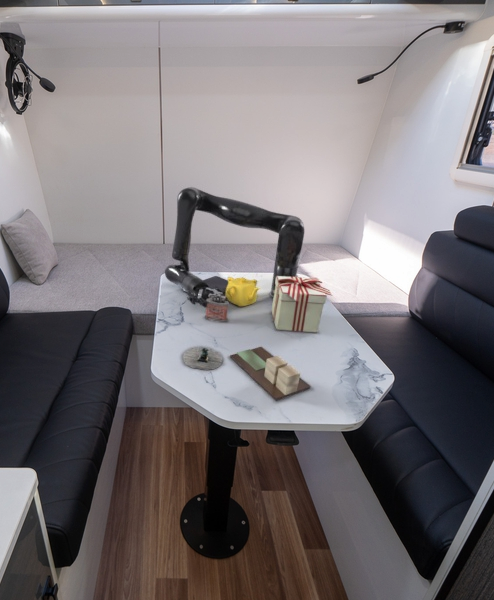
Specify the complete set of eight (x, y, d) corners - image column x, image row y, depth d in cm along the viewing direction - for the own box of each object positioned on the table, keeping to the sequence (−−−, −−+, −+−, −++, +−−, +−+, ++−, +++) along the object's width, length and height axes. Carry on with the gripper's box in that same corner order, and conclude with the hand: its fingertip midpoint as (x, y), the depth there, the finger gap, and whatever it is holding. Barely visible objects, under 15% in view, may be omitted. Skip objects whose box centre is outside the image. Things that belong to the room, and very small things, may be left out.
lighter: (227, 319, 138) (229, 294, 134) (225, 323, 135) (227, 298, 131) (206, 315, 140) (208, 291, 136) (204, 319, 138) (205, 294, 133)
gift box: (278, 336, 128) (286, 290, 120) (267, 311, 144) (273, 270, 137) (328, 337, 128) (338, 291, 120) (311, 312, 144) (319, 271, 137)
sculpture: (228, 367, 111) (213, 354, 107) (204, 386, 113) (189, 373, 108) (214, 344, 121) (200, 331, 117) (193, 362, 123) (178, 349, 118)
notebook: (202, 300, 152) (236, 287, 165) (202, 296, 151) (237, 283, 164) (181, 290, 161) (215, 278, 173) (181, 287, 160) (216, 275, 173)
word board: (261, 348, 121) (263, 330, 118) (310, 388, 103) (314, 368, 100) (229, 357, 116) (231, 338, 113) (276, 400, 98) (279, 380, 95)
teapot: (259, 297, 156) (262, 274, 151) (258, 311, 144) (260, 286, 140) (226, 293, 158) (228, 271, 154) (222, 306, 147) (224, 282, 143)
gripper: (179, 280, 144) (199, 296, 131) (211, 275, 150) (233, 290, 137) (178, 298, 147) (198, 315, 134) (210, 292, 153) (231, 308, 140)
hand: (216, 302), depth 136 cm, fingers open, 8 cm apart
